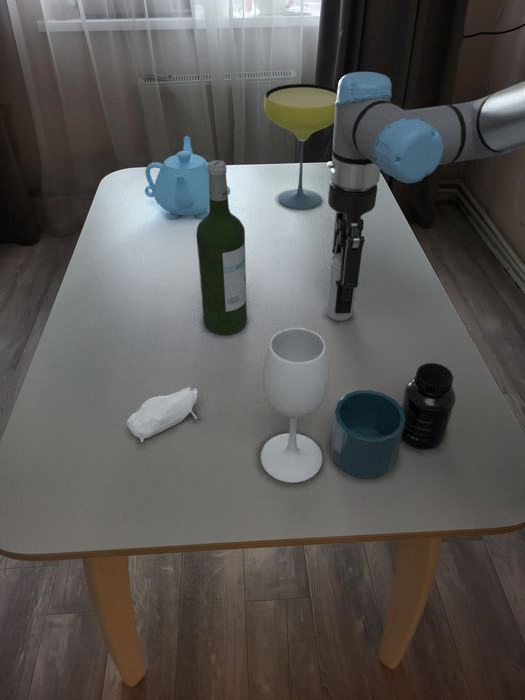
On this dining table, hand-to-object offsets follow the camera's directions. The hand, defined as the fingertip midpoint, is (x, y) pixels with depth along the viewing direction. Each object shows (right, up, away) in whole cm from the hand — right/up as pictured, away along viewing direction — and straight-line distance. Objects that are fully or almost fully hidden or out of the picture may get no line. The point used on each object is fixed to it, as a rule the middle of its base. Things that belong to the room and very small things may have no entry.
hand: (340, 302), depth 102 cm
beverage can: (0, -2, +2) cm, 3 cm away
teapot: (-32, +26, +35) cm, 54 cm away
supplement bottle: (+9, -21, -20) cm, 31 cm away
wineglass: (-10, -24, -23) cm, 35 cm away
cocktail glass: (-5, +29, +38) cm, 48 cm away
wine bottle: (-21, -4, 0) cm, 21 cm away
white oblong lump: (-29, -20, -19) cm, 40 cm away
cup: (0, -23, -23) cm, 33 cm away
